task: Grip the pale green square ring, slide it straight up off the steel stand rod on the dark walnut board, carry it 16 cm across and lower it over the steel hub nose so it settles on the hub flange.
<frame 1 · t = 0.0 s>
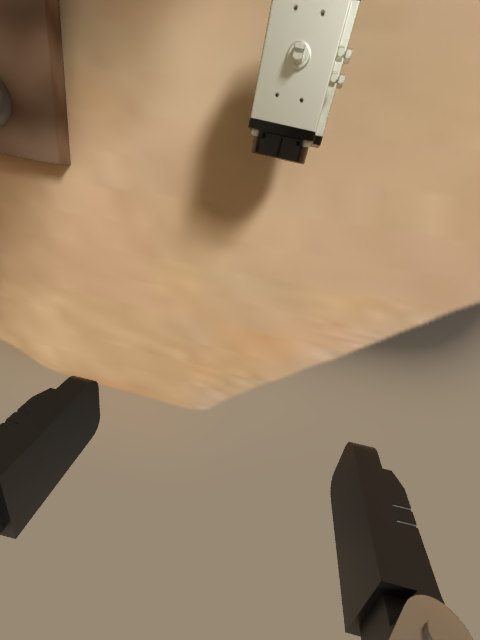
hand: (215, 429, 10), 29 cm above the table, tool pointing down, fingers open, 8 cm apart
pneumatic valve: (301, 93, 30), on the table
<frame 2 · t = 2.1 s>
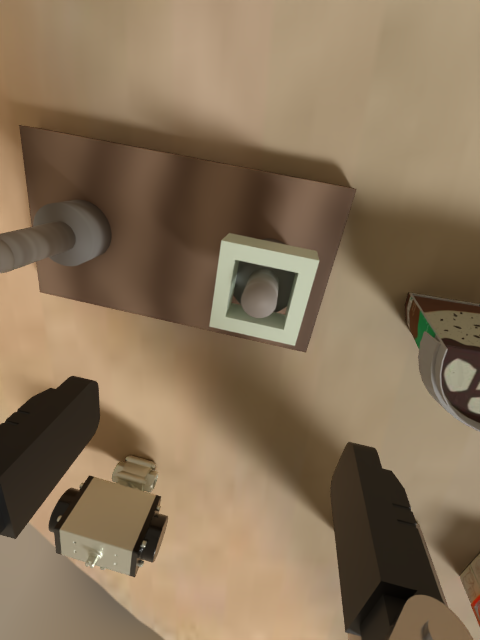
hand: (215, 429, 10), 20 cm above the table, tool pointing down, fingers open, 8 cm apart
pneumatic valve: (141, 466, 43), on the table
food container: (449, 332, 28), on the table
ring: (263, 283, 23), point 6 cm above the table, touching board
board: (182, 243, 29), on the table
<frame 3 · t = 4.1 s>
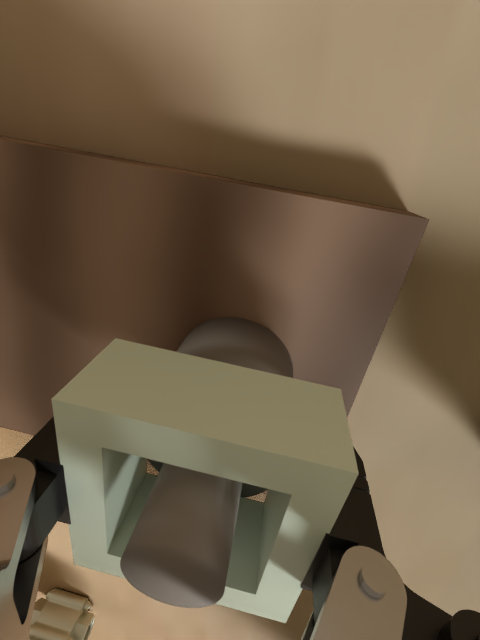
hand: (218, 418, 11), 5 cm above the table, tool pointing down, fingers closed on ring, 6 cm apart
pneumatic valve: (73, 599, 30), on the table
ring: (211, 444, 10), point 6 cm above the table, touching board, gripper
board: (81, 310, 15), on the table
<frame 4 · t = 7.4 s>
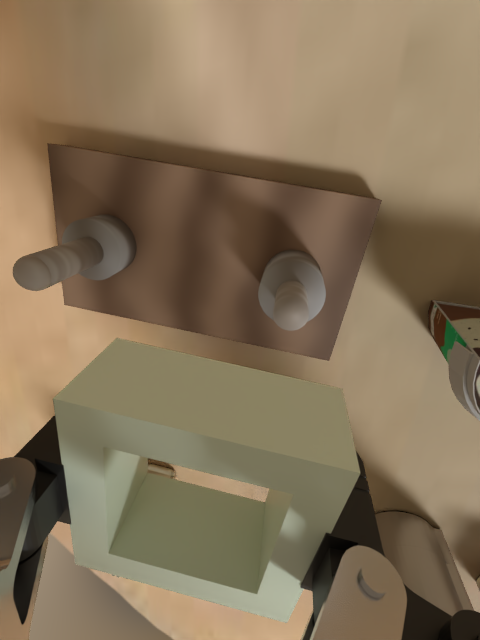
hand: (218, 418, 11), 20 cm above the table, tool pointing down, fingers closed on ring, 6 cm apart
food container: (472, 338, 29), on the table
ring: (212, 444, 10), point 21 cm above the table, touching gripper
board: (205, 254, 29), on the table
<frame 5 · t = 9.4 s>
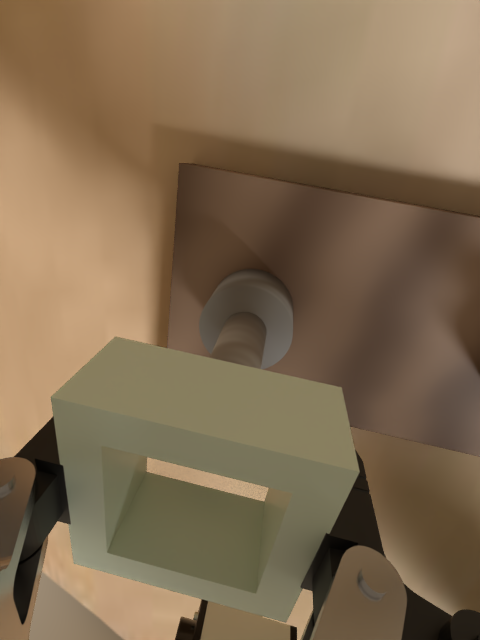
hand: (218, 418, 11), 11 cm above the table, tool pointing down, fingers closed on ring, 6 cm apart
pneumatic valve: (249, 567, 34), on the table
ring: (211, 443, 10), point 12 cm above the table, touching gripper
board: (380, 322, 20), on the table
when the fingers open (6 cm above the table, at t = 11.0 s): ring drops 2 cm, resting on board.
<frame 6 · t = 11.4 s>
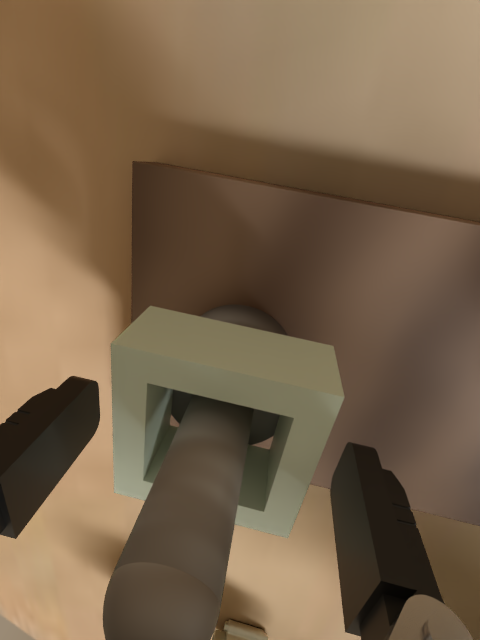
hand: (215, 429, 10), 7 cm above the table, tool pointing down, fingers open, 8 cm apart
pneumatic valve: (242, 629, 30), on the table
ring: (226, 397, 12), point 5 cm above the table, touching board
board: (405, 368, 15), on the table
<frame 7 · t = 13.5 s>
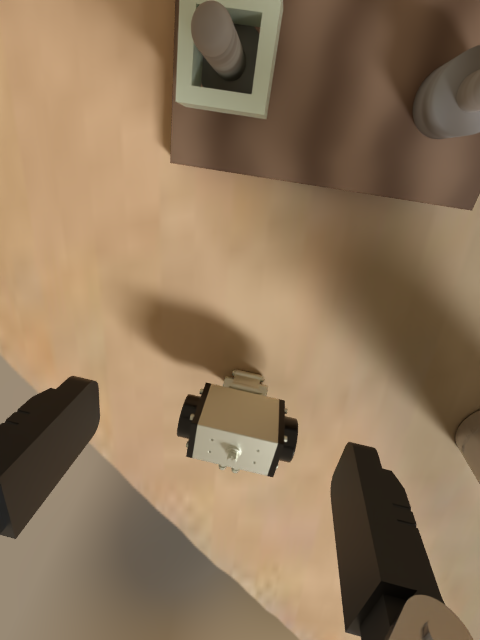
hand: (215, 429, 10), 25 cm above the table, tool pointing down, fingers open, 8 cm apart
pneumatic valve: (245, 383, 41), on the table
ring: (231, 61, 22), point 5 cm above the table, touching board
board: (336, 92, 26), on the table
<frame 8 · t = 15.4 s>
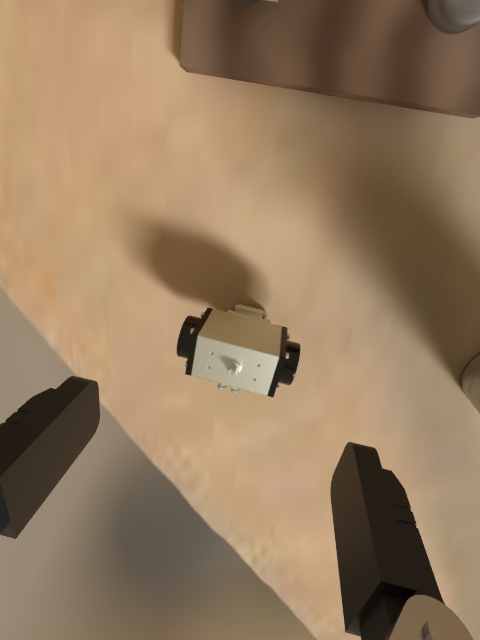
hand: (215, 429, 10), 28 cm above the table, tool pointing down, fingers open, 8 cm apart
pneumatic valve: (248, 320, 40), on the table
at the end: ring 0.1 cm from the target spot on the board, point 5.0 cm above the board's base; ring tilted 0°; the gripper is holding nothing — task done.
